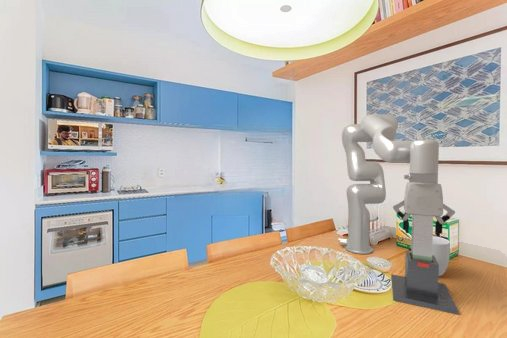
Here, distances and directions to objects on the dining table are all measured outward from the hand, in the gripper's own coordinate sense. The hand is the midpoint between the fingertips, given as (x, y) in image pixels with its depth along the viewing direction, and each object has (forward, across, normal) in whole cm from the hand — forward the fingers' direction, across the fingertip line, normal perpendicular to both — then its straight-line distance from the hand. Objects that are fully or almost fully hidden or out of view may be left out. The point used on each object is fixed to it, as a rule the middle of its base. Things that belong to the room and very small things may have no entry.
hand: (421, 233), depth 81 cm
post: (+13, 0, 0) cm, 13 cm away
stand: (+20, 0, 0) cm, 20 cm away
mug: (+20, +5, +19) cm, 28 cm away
